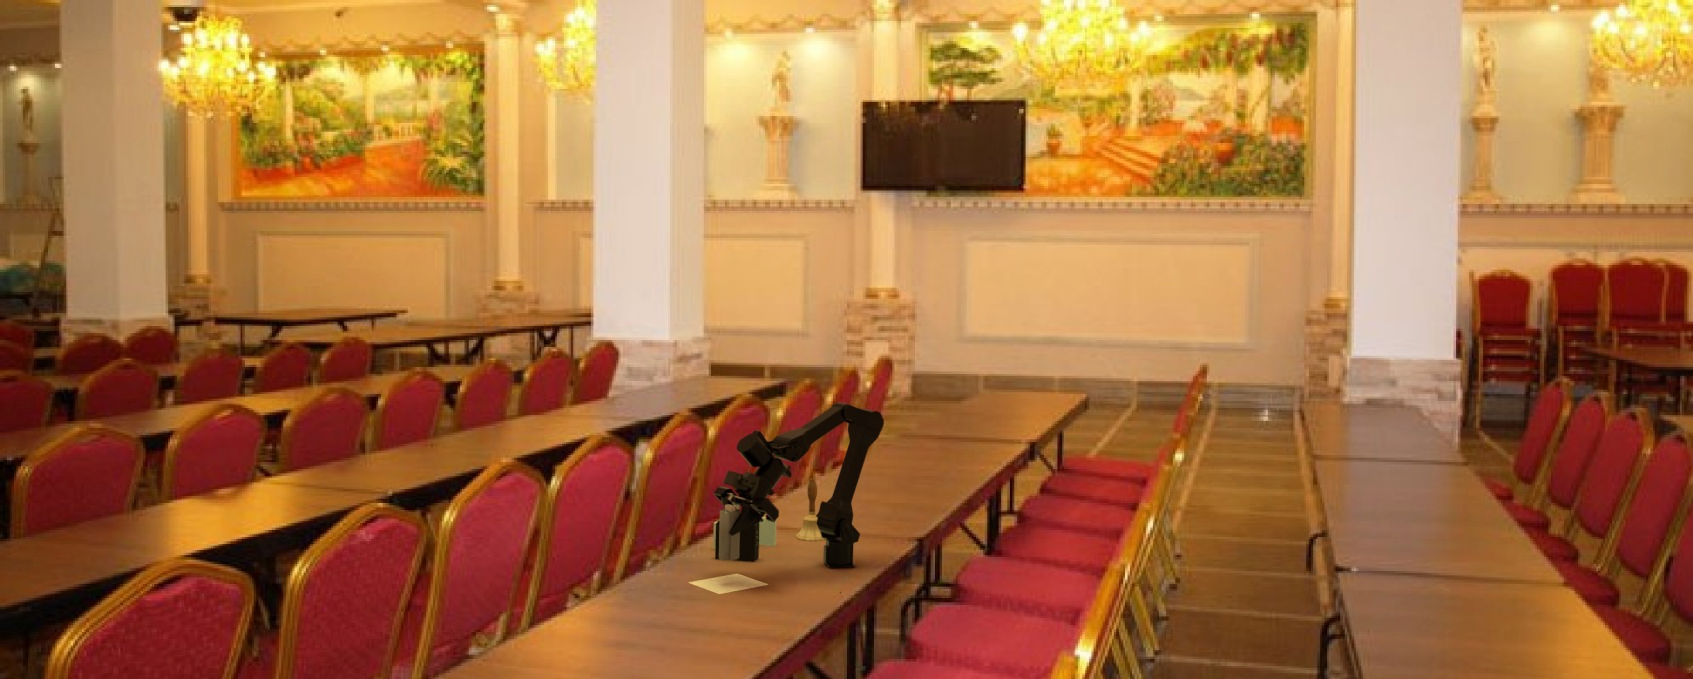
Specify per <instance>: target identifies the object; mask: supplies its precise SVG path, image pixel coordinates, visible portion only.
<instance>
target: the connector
mask: <svg viewBox="0 0 1693 679" xmlns="http://www.w3.org/2000/svg"><path fill="white" fill-rule="evenodd" d="M740 513H741V509H740V508H739V509H735V506H734V505H730V504H727V505H725V509H724V508H723V509H721V510H719V519H720V530H719V559H718V560H721V561H734V560H736V559H738V558H739V540H740V532H739V533H737V534H735V535H733V536H731V535H730V534H729V531H730V530H731V528H732V526H733V525H734V523H735V521H736V520H737V518H738V517H739V515H740Z"/></svg>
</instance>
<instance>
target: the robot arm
mask: <svg viewBox="0 0 1693 679" xmlns="http://www.w3.org/2000/svg"><path fill="white" fill-rule="evenodd" d="M844 423H846V424H848V426H847V433H848V439H849V443H848V446H847V449H846V452H845V455H844V459H843V462H842V464H841V467H840V471H839V474H838V476H837V481H836V483H835V485H834V486H835V487H834V489H833V492H832V496H831V497H830V498H829V499H828V500H827V501H824V500H823V501H821V502H820V504H819V510H818V512H817V514H815V515H816V517H818V518H817V525H818V528H819V530H820V533H821V536H822V538H826V539H825V544H824V545H823V558H822V559H823V560H822V561H823V563H824V564H825V565H826V566H827V567H828V568H829V569H836V568H837V569H839V568H840V569H841V568H855V567H856V564H855V563H854V544H855V543H858V542H859V540H860V536H861V533H860V532H859V530H858V529H856V527H855V526H854V525H853V520H854V511H853V506H852V502H853V498H854V495H855V493H856V489H857V487H858V483H859V480H860V477H861V473H862V470H863V467H864V463H865V461H866V457H867V455H868V451H869V448H870V447H871V446H872V445H873V444H874V443H875V441H877V440H878V438H879V437H880V435H881V432H882V430H883V427H884V425H885V419H884V417H883V414H881V412H880V411H877V410H872V409H867V408H861V407H856V406H853V405H852V404H850V403H845V402H841V401H840V402H835V403H833V404H832V406H831V407H829V408H828V409H826V410H824V411H823V412H821V413H820V414H819V415H818V416H816V417H814V418H812V419H811V420H810V421H808V422H807V423H806V424H804V425H802V426H801V427H799V428H797V429H793V430H791V429H790V430H788V431H785V432H783V433H780V434H778V435H776V436H775V437H774V438H773V439H771V440H769V441H768V440H767V439H766V438H765V436H764V434H763V433H762V431H760V430H757V429H754V430H753V431H752V432H751V433H749V434H747V435H745V436H744V437H742V438H740V440H739V441H738V443H737V445H736V450H737V452H738V453H739V454H740V455H741V456H742V457H743V458H744V460H745V461H746V463H747V464H749V466H751V467H752V468H756V469H755V471H754V472H753V473H752V472H750V471H745V472H744V473H739V472H736V471H732V470H730V469H729V470H727V472H726V474H725V477H724V480H723V483H722V484H724V485H728V486H731V487H733V488H734V489H732V488H729V487H727V486H717V487H716V488H715V490H714V492H712V494H713V495H714V497H715V498H716V500H718V501H719V502H720V503H721V504H722V505H723V509H725V505H727V504H730V505H734V506H735V509H739V510H740V507H741V510H740V515H739V517H738V518H737V520H736V521H735V523H734V525H733V526H732V528H731V530H730V531H729V534H730V535H731V536H733V535H735V534H737V533H739V532H740V531H742V530H744V529H746V528H748V527H750V526H752V525H754V524H757V523H759V522H763V521H764V520H763V519H762V517H764V516H765V517H766V519H767V521H771V522H775V521H776V520H778V518H779V517H780V510H779V509H778V507H777V506H776V505H775V504H774V503H773V502H772V500H770V498H768V496H774V494H775V491H774V490H773V489H774V488H775V487H776V484H778V482H779V481H780V479H781V478H782V476H783V477H786V478H792V476H793V475H792V471H791V465H790V464H789V465H788V464H785V463H784V461H787V462H792V463H797V462H800V461H801V459H802V458H804V456H805V455H807V454H808V452H809V451H810V448H811V447H812V445H813V444H814V443H815V442H817V441H819V440H820V439H821V438H823V437H824V436H825V435H827V434H828V433H830V432H833V430H834V429H836V428H837V427H839V426H841V425H842V424H844ZM782 460H783V461H782ZM719 530H720V523H719V526H718V531H719Z"/></svg>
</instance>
